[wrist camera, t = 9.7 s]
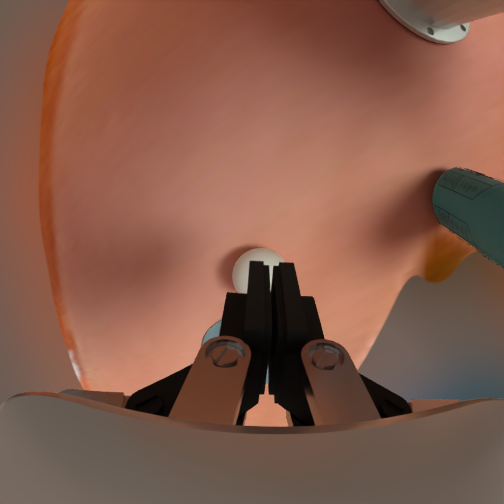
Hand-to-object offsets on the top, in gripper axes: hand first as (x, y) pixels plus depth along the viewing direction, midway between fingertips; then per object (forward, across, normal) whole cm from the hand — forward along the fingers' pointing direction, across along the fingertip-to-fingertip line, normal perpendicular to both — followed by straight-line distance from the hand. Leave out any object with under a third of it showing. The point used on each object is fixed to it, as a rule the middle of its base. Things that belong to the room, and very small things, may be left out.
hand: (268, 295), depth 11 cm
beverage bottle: (+15, -19, -3) cm, 24 cm away
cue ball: (+12, 0, +6) cm, 14 cm away
